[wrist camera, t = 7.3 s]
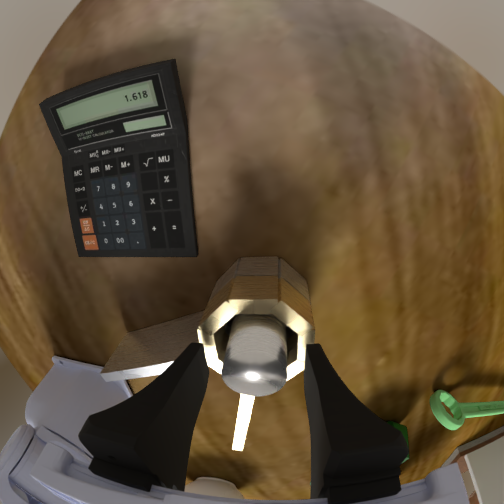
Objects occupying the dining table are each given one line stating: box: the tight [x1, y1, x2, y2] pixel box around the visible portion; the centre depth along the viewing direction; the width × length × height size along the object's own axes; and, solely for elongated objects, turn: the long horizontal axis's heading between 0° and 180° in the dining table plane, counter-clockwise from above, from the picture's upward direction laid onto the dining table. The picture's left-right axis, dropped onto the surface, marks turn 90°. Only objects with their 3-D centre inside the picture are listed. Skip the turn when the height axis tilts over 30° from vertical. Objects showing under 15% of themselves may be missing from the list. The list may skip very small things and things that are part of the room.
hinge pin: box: [221, 314, 287, 396], centre depth 15 cm, size 3×3×7 cm
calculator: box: [39, 59, 198, 257], centre depth 15 cm, size 9×12×3 cm
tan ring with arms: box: [100, 256, 315, 451], centre depth 18 cm, size 14×14×5 cm
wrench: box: [430, 390, 504, 430], centre depth 20 cm, size 25×2×5 cm, turn 74°
